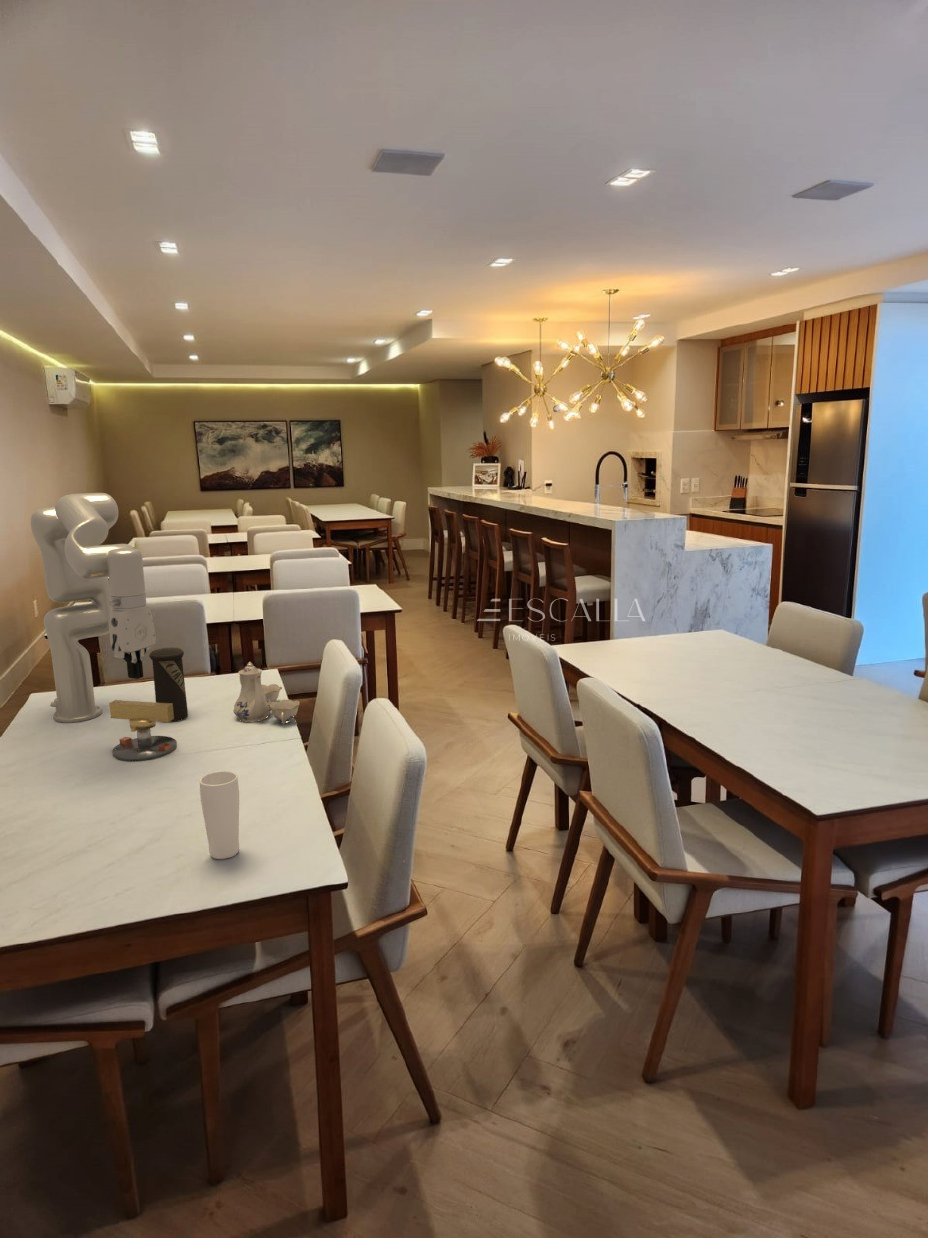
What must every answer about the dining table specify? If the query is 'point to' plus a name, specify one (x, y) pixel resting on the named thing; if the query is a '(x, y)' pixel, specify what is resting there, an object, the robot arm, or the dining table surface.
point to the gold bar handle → (141, 713)
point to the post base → (143, 753)
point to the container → (170, 680)
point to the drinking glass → (221, 812)
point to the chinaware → (261, 699)
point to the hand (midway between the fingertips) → (135, 677)
